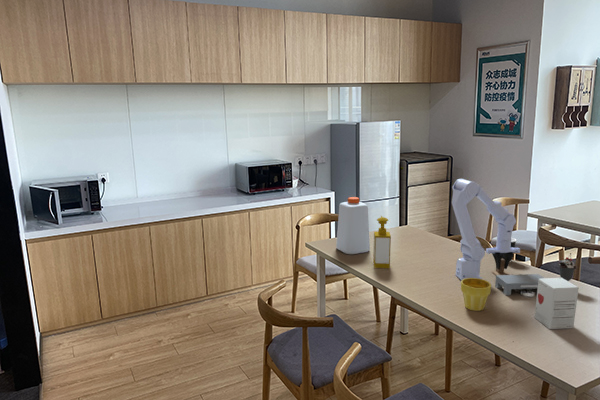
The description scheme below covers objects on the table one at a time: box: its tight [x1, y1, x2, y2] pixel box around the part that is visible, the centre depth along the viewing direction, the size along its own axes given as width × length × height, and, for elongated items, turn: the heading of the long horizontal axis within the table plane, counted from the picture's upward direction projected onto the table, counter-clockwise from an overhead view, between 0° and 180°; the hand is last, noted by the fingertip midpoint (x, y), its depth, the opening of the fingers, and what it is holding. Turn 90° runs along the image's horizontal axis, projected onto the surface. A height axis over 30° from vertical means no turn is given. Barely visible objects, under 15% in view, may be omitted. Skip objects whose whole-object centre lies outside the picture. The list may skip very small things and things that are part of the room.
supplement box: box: [534, 277, 580, 330], centre depth 155 cm, size 9×9×15 cm
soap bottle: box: [372, 215, 392, 269], centre depth 215 cm, size 7×13×24 cm, turn 174°
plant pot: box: [460, 278, 492, 312], centre depth 168 cm, size 10×10×10 cm
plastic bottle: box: [335, 196, 371, 255], centre depth 235 cm, size 15×15×28 cm
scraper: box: [491, 258, 533, 293], centre depth 193 cm, size 6×22×7 cm, turn 3°
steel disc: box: [519, 290, 536, 298], centre depth 180 cm, size 5×5×1 cm
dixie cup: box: [500, 237, 518, 263], centre depth 218 cm, size 8×8×11 cm
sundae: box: [557, 252, 578, 282], centre depth 184 cm, size 7×7×15 cm
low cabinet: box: [494, 273, 545, 296], centre depth 183 cm, size 18×10×5 cm, turn 93°
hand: (501, 268), depth 201 cm, fingers closed on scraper, 2 cm apart
